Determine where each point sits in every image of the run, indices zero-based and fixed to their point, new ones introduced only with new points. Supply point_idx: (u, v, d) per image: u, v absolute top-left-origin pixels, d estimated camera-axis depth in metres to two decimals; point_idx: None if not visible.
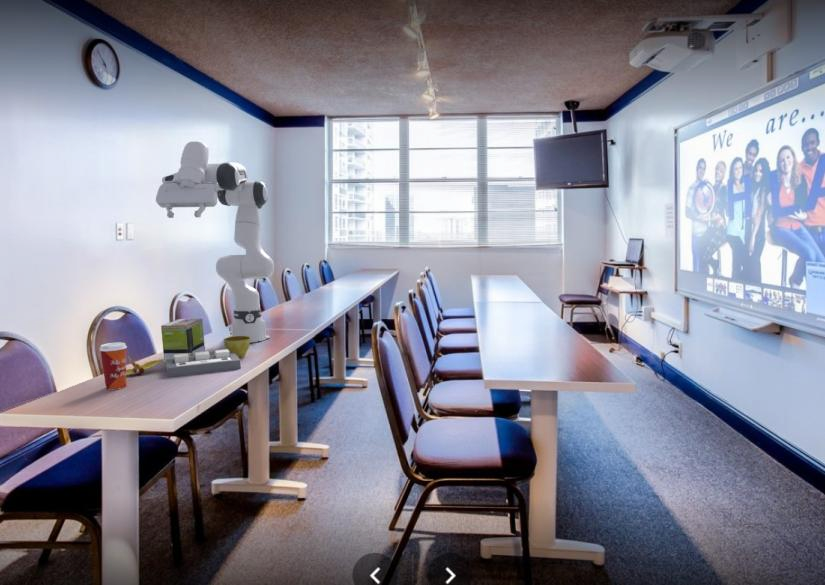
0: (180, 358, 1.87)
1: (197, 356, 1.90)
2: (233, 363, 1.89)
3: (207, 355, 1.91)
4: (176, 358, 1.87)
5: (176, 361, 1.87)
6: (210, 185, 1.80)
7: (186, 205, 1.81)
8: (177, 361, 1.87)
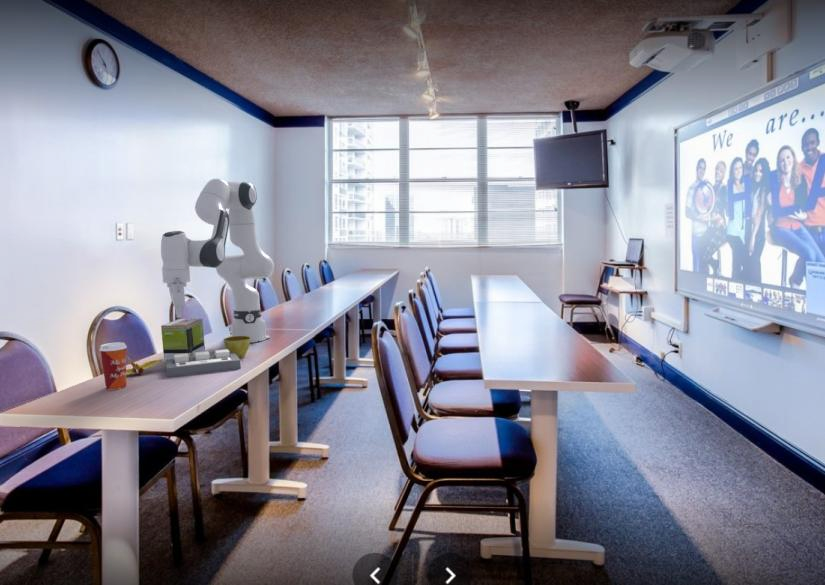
0: (180, 358, 1.87)
1: (197, 356, 1.90)
2: (233, 363, 1.89)
3: (207, 355, 1.91)
4: (176, 358, 1.87)
5: (176, 361, 1.87)
6: (172, 286, 1.78)
7: None
8: (177, 361, 1.87)
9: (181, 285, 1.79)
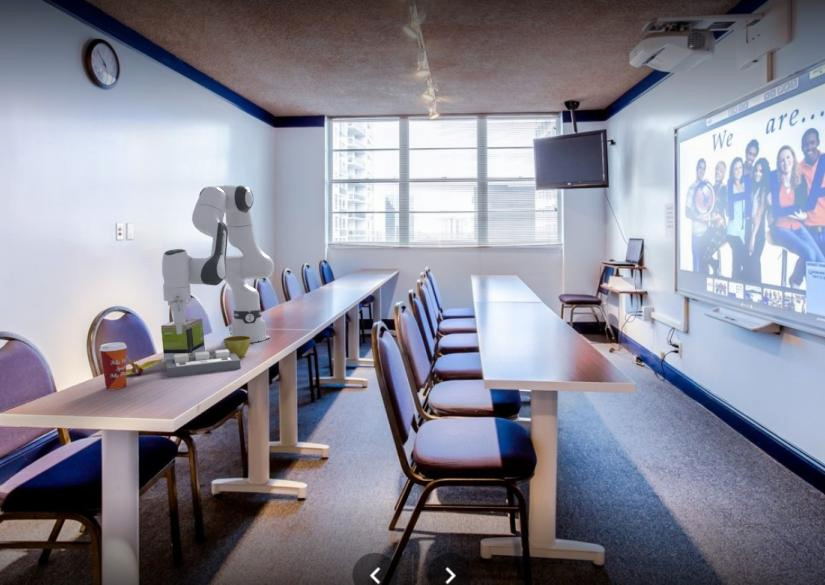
0: (180, 358, 1.87)
1: (197, 356, 1.90)
2: (233, 363, 1.89)
3: (207, 355, 1.91)
4: (176, 358, 1.87)
5: (176, 361, 1.87)
6: (173, 305, 1.79)
7: None
8: (177, 361, 1.87)
9: (182, 303, 1.80)
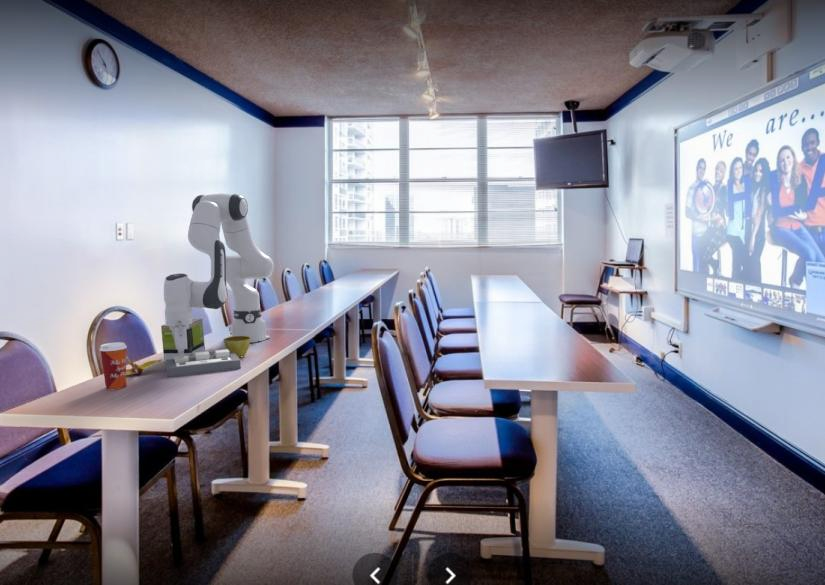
0: (180, 360, 1.88)
1: (197, 356, 1.90)
2: (233, 363, 1.89)
3: (207, 355, 1.91)
4: (176, 360, 1.87)
5: None
6: (174, 330, 1.80)
7: None
8: None
9: (183, 329, 1.81)
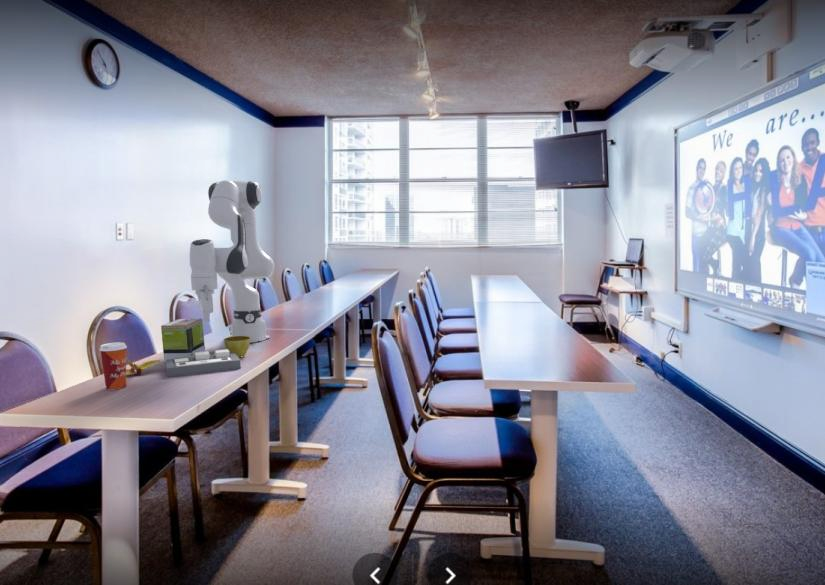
0: None
1: (197, 356, 1.90)
2: (233, 363, 1.89)
3: (207, 355, 1.91)
4: None
5: None
6: (201, 294, 1.83)
7: None
8: None
9: (209, 293, 1.84)
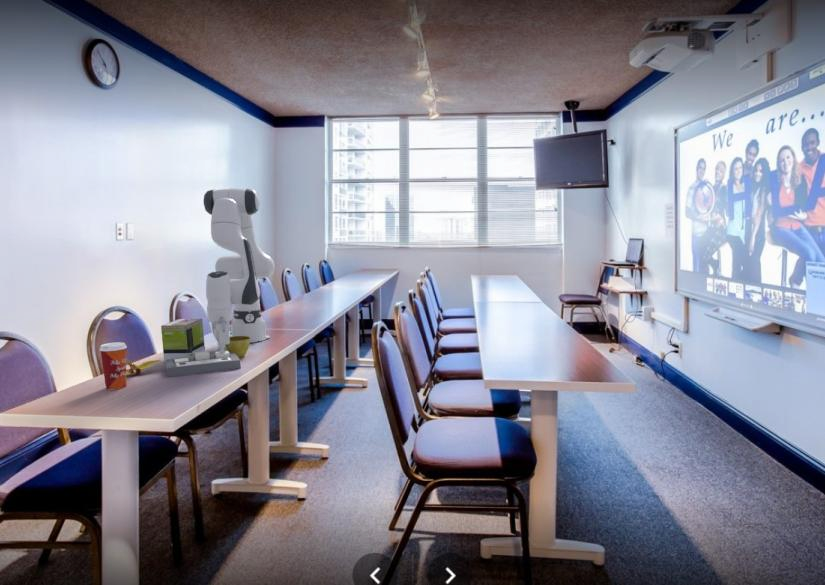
0: None
1: (197, 356, 1.90)
2: (233, 363, 1.89)
3: (207, 355, 1.91)
4: None
5: None
6: (218, 326, 1.86)
7: None
8: None
9: (226, 325, 1.87)
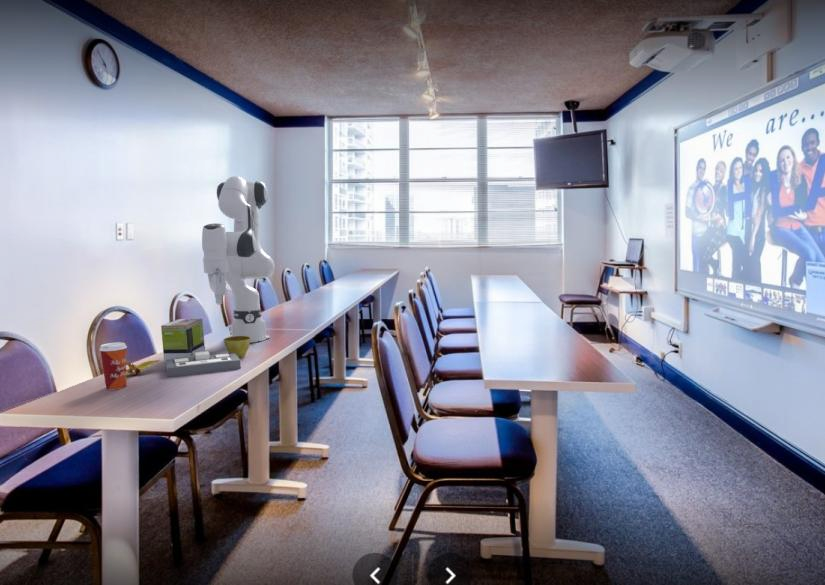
0: None
1: (197, 356, 1.90)
2: (233, 363, 1.89)
3: (207, 355, 1.91)
4: None
5: None
6: (214, 277, 1.89)
7: None
8: None
9: (222, 276, 1.90)
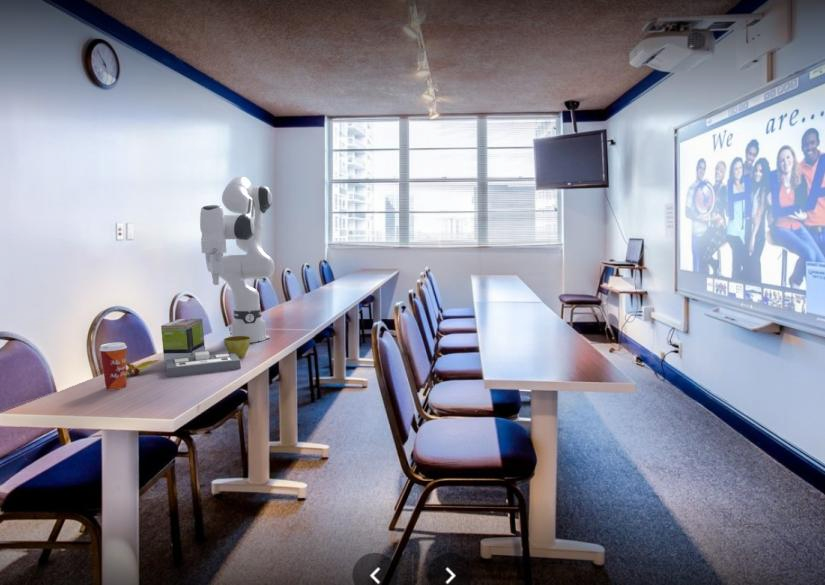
0: None
1: (197, 356, 1.90)
2: (233, 363, 1.89)
3: (207, 355, 1.91)
4: None
5: None
6: (211, 256, 1.92)
7: None
8: None
9: (219, 255, 1.92)
